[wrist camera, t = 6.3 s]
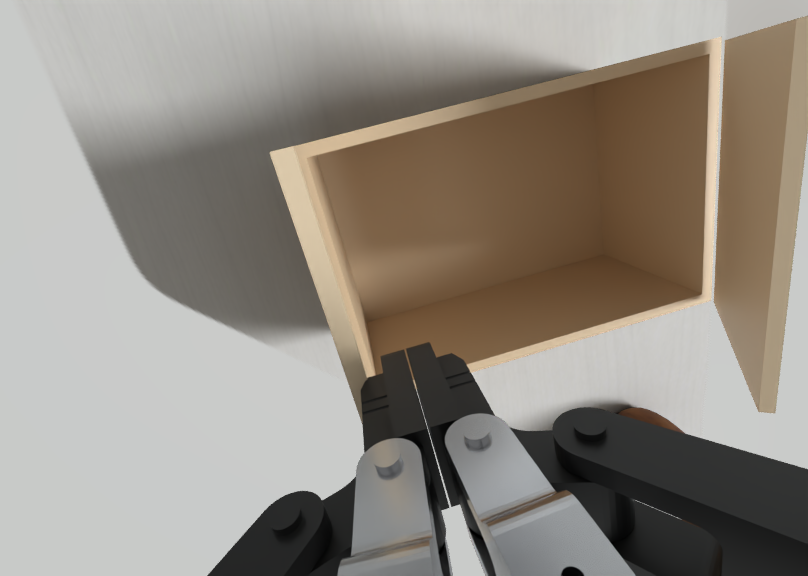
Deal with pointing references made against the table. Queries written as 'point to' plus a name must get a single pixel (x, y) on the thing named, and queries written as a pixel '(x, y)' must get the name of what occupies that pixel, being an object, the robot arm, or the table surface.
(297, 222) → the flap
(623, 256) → the carton
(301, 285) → the table surface
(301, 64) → the table surface
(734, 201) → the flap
